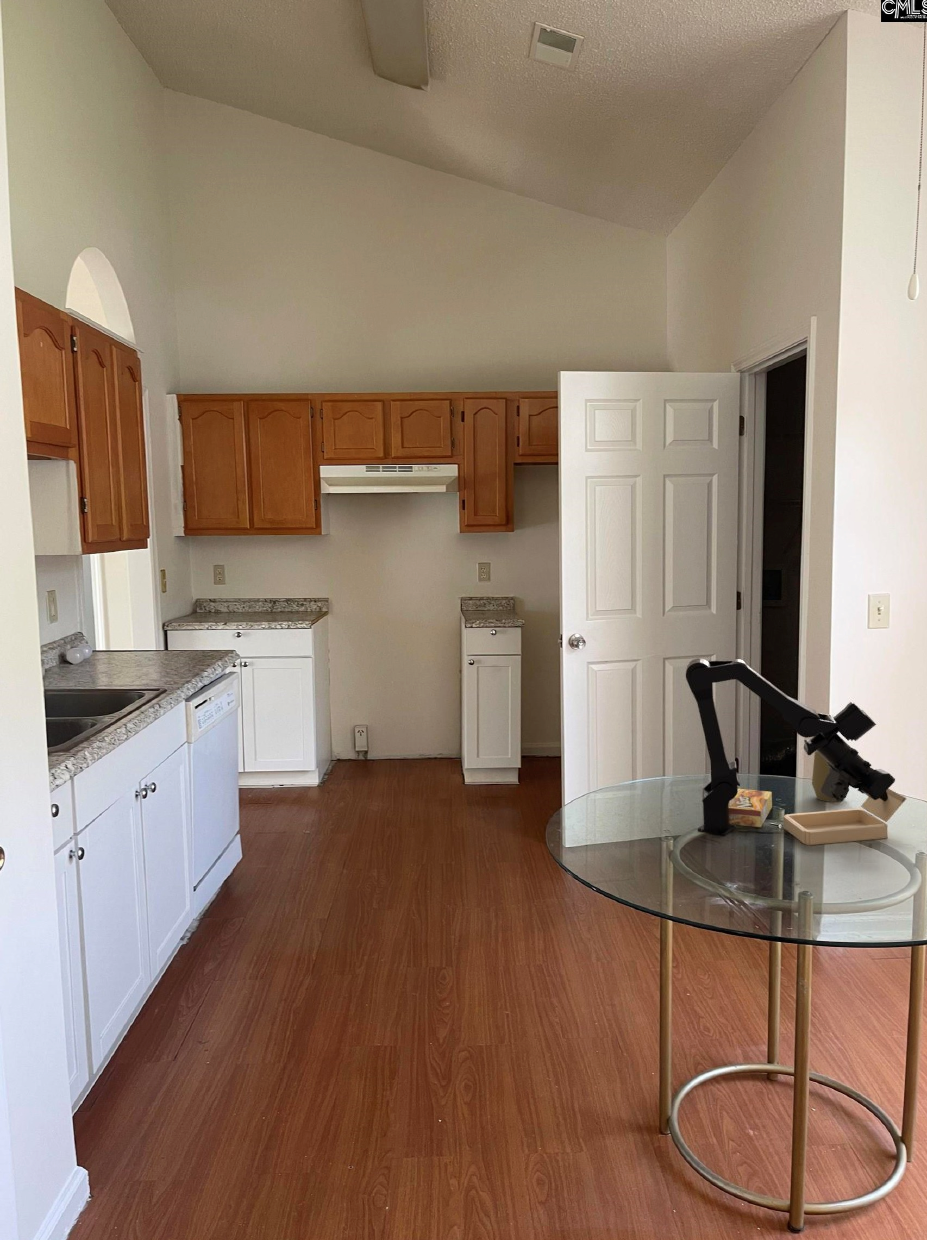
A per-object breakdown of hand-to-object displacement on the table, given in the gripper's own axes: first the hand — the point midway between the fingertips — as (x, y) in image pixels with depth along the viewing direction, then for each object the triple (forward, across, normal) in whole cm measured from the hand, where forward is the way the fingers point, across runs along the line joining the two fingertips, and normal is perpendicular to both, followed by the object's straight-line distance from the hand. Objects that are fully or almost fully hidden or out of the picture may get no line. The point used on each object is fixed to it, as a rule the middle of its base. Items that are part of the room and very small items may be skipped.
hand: (886, 799), depth 193 cm
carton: (-3, 0, -13) cm, 14 cm away
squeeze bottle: (+4, -23, -6) cm, 24 cm away
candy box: (-12, -22, -19) cm, 31 cm away
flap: (0, 0, -4) cm, 5 cm away
